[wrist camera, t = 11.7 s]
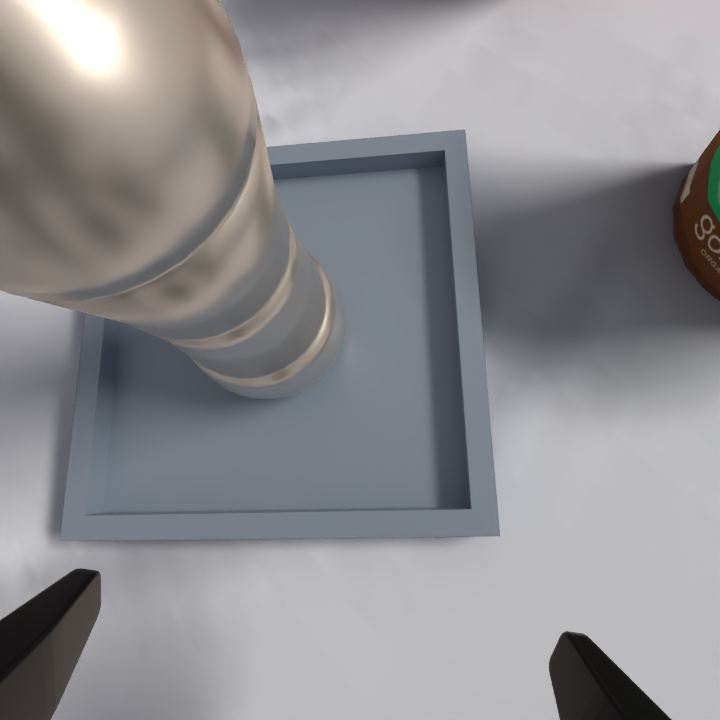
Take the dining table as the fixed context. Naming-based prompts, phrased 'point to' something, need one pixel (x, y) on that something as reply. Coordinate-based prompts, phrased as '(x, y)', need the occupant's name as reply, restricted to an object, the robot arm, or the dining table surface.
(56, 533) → the dining table surface
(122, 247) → the plastic bottle
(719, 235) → the food container
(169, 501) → the blue-gray tray
